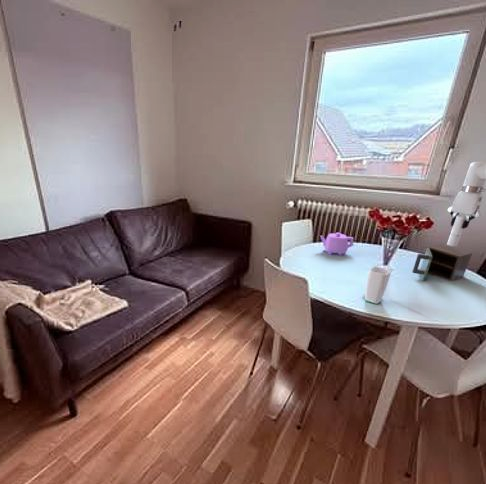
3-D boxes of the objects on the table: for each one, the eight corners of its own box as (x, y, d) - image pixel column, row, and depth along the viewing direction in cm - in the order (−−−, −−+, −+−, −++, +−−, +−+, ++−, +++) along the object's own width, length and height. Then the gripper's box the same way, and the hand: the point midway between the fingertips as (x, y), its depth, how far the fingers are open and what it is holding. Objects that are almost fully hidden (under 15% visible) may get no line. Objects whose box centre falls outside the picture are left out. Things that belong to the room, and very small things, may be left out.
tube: (454, 246, 157) (464, 217, 150) (445, 244, 160) (455, 215, 154) (458, 245, 159) (469, 216, 152) (449, 243, 162) (459, 214, 156)
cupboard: (450, 282, 158) (460, 256, 152) (421, 271, 170) (429, 247, 164) (462, 278, 163) (472, 253, 157) (433, 267, 175) (441, 244, 169)
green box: (410, 279, 160) (418, 254, 154) (409, 269, 172) (416, 246, 166) (424, 282, 157) (432, 256, 152) (421, 271, 169) (429, 247, 164)
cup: (383, 300, 139) (392, 270, 133) (378, 306, 135) (386, 275, 128) (366, 295, 144) (374, 265, 138) (361, 300, 139) (368, 270, 133)
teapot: (349, 250, 199) (353, 231, 194) (352, 257, 188) (357, 237, 183) (317, 247, 203) (320, 228, 198) (318, 254, 192) (321, 234, 187)
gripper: (496, 191, 142) (481, 230, 150) (456, 186, 156) (444, 222, 164) (488, 193, 139) (473, 232, 147) (448, 187, 153) (436, 223, 161)
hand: (458, 226), depth 155 cm, fingers closed on tube, 4 cm apart
